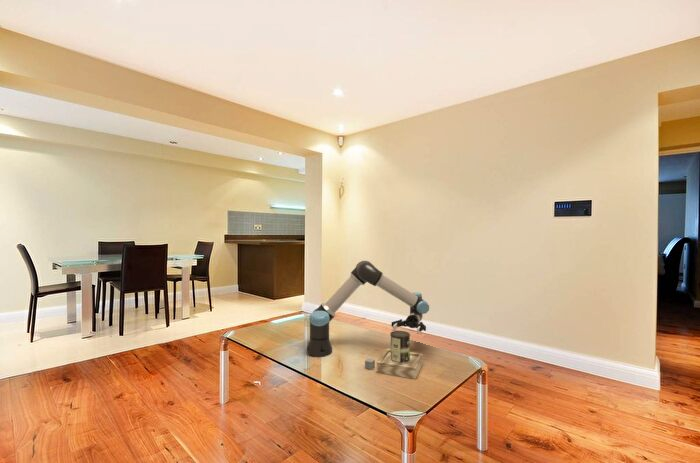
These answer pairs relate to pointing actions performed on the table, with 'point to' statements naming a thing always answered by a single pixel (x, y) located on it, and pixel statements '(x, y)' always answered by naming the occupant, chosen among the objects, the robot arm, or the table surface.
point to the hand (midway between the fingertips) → (405, 330)
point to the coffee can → (400, 347)
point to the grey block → (369, 363)
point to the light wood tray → (400, 365)
